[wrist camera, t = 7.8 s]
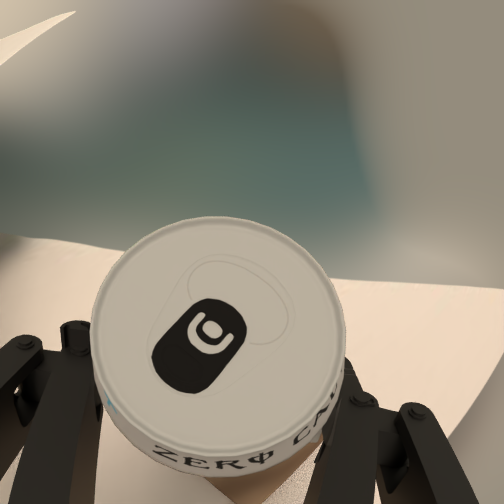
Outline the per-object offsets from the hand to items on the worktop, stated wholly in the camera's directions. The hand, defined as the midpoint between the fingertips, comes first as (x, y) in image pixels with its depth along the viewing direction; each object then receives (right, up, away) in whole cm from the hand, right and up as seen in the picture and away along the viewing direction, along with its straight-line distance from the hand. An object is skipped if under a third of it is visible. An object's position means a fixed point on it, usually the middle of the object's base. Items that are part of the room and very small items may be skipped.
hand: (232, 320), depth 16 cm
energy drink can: (-1, -6, +3) cm, 7 cm away
